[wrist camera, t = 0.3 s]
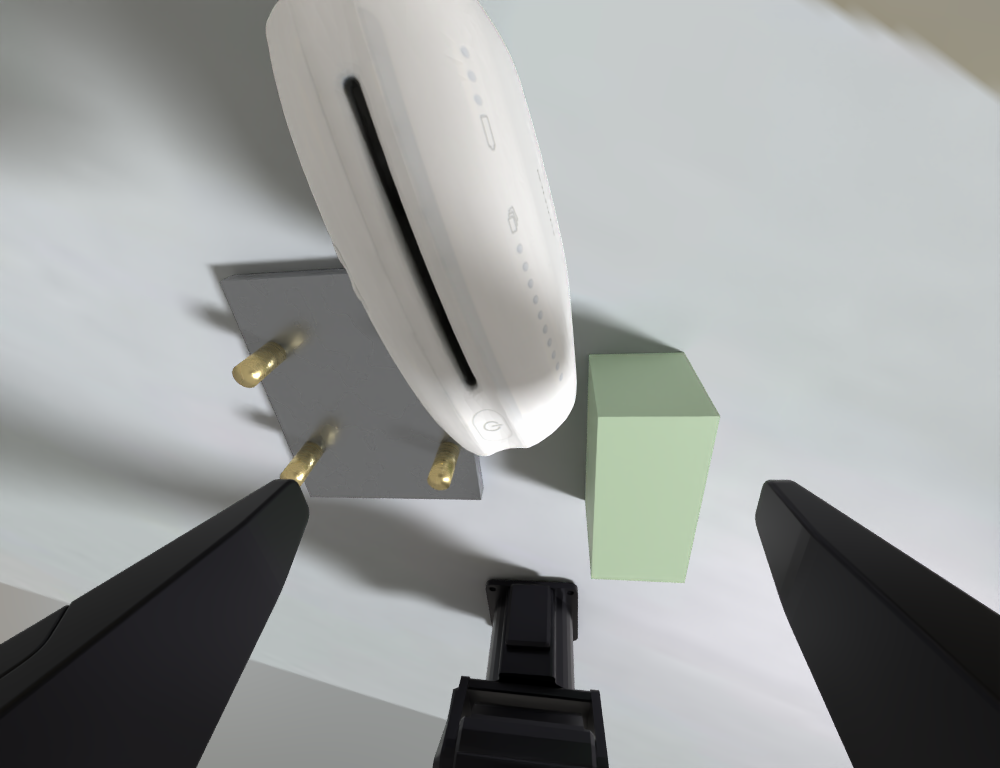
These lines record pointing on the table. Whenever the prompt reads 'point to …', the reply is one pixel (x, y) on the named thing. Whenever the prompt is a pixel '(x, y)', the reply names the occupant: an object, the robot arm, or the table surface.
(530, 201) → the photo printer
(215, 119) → the table surface
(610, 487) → the block
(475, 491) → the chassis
